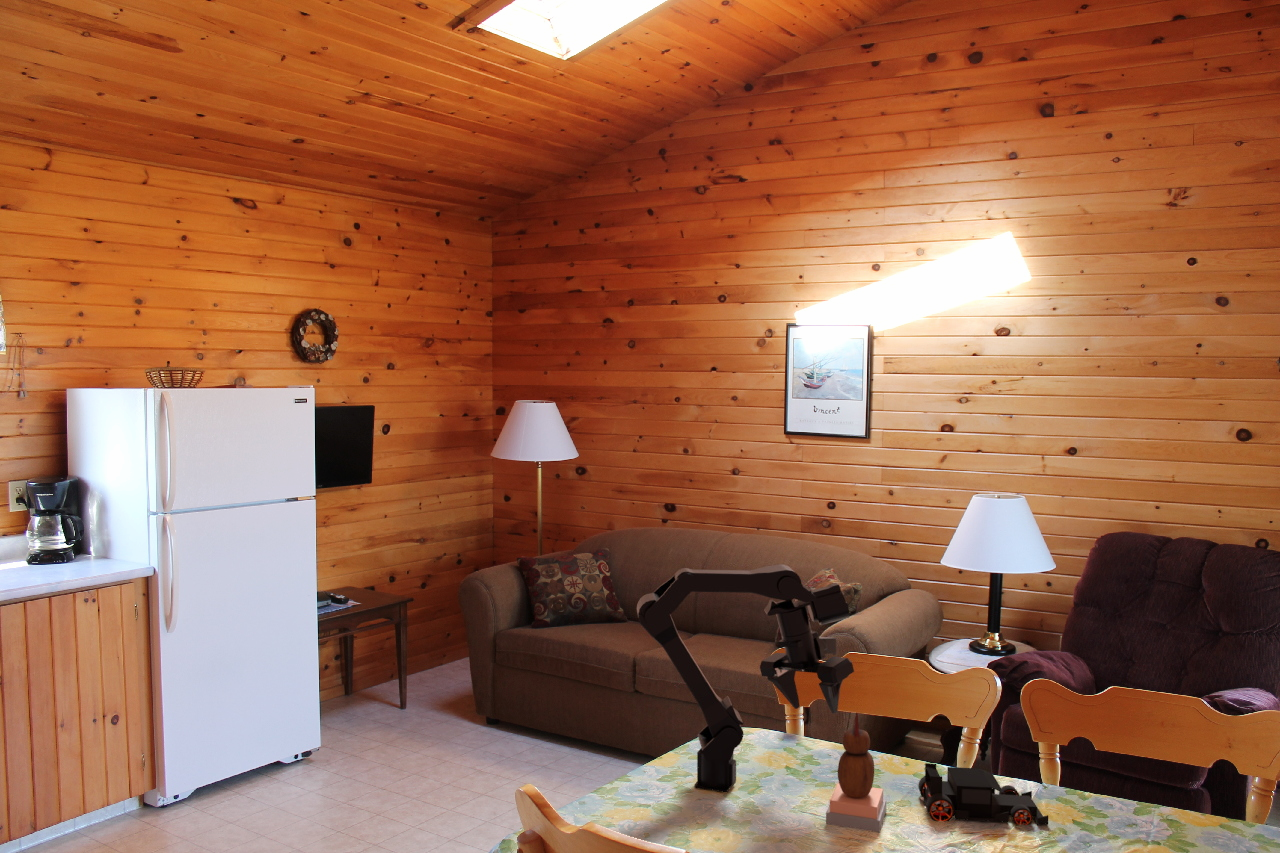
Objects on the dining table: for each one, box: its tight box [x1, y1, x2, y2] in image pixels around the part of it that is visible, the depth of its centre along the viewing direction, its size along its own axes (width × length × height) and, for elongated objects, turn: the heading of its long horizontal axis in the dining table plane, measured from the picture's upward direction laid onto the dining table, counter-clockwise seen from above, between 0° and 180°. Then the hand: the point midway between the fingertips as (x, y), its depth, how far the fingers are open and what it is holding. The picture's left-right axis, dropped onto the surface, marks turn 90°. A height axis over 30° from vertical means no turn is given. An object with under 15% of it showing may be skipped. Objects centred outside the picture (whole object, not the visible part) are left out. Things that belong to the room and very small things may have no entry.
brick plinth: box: [825, 781, 887, 833], centre depth 168 cm, size 9×9×4 cm
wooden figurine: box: [837, 712, 875, 798], centre depth 167 cm, size 7×6×15 cm
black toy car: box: [918, 763, 1049, 826], centre depth 170 cm, size 10×20×7 cm, turn 83°
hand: (815, 710), depth 182 cm, fingers open, 9 cm apart
